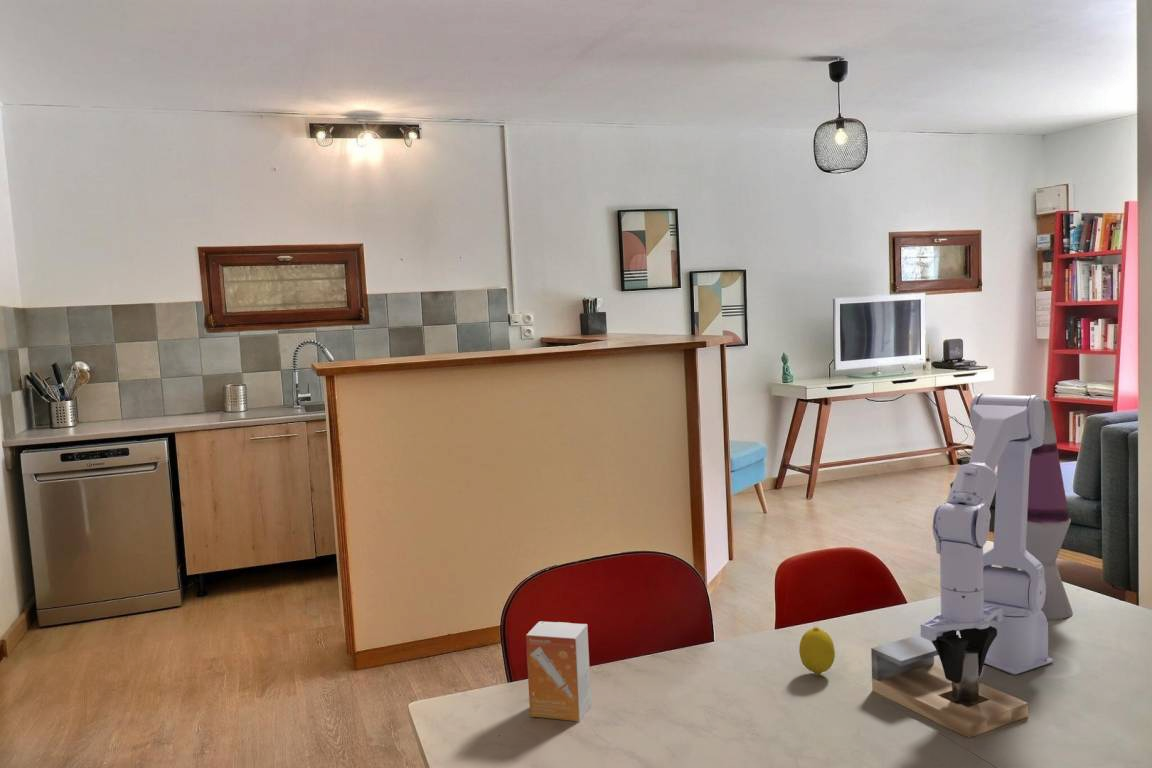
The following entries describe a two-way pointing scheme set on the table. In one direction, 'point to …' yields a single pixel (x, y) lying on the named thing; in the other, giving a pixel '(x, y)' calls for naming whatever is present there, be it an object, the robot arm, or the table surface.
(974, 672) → the peg
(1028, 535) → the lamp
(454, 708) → the table surface
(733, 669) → the table surface
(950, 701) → the socket board
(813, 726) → the table surface
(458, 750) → the table surface
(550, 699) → the small box
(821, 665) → the lemon
